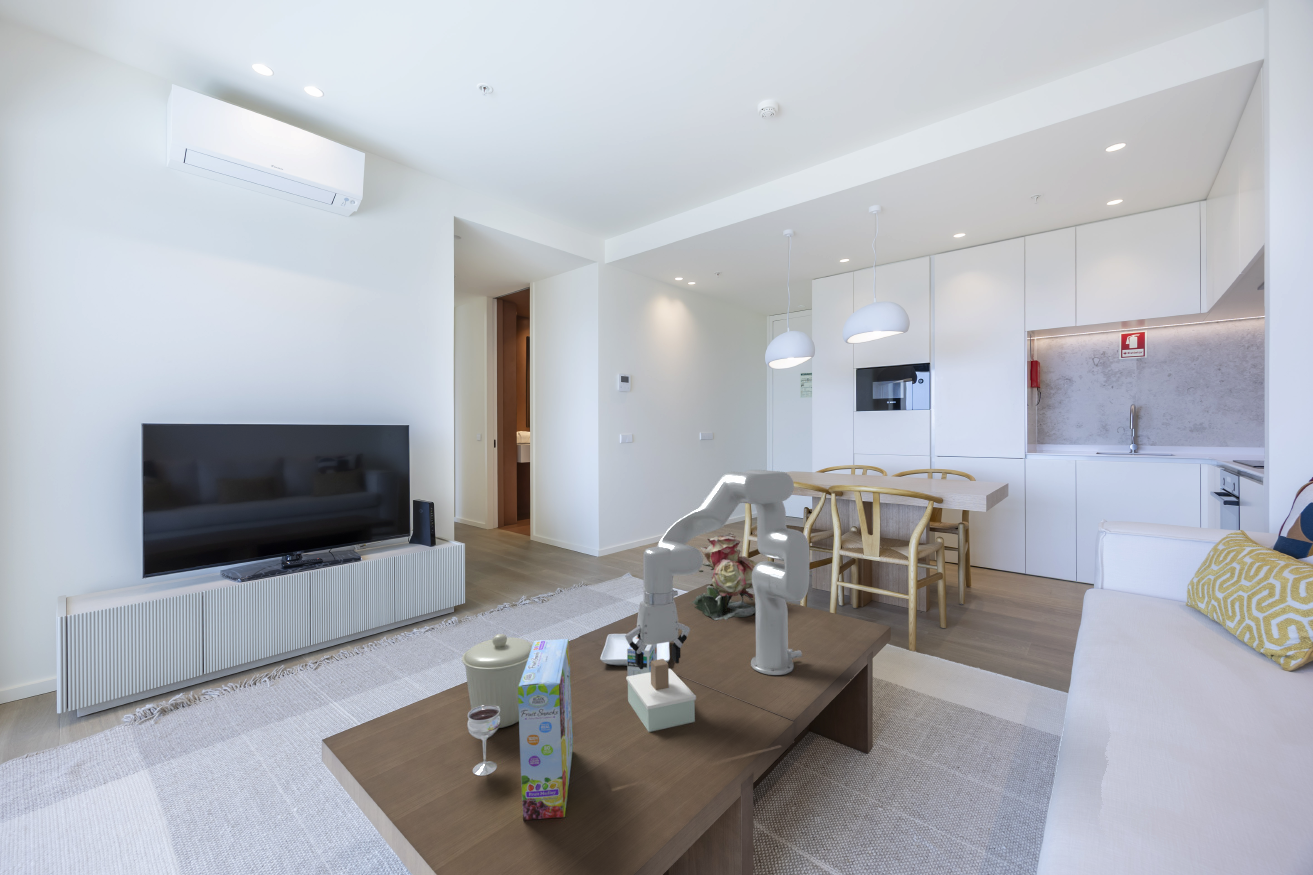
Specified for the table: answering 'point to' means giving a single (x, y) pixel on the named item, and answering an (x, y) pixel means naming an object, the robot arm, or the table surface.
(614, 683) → the table surface
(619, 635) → the salad plate
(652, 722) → the box
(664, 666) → the lid
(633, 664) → the light bulb box
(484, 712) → the wineglass
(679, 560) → the robot arm
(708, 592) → the rose bouquet
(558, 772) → the snack box
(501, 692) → the canister
